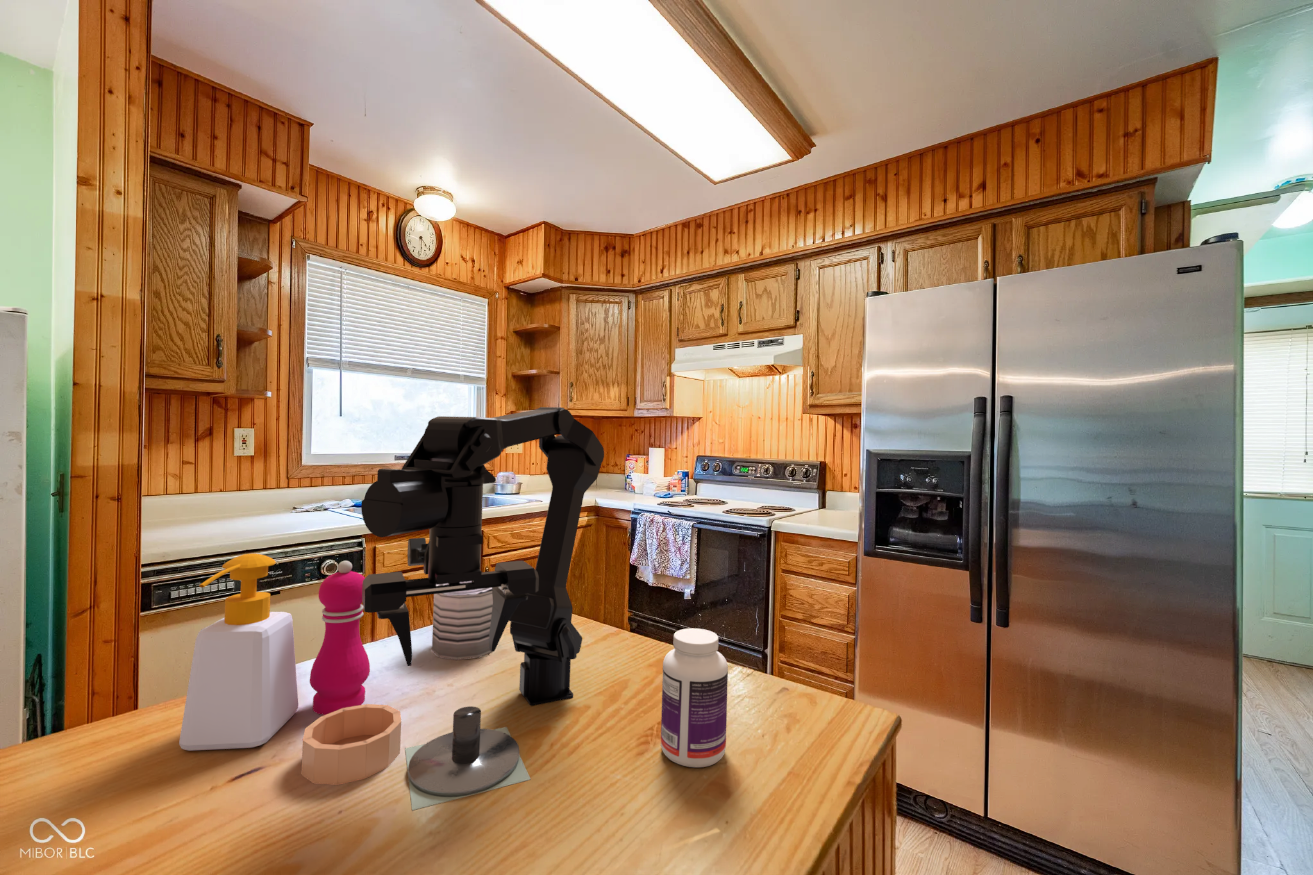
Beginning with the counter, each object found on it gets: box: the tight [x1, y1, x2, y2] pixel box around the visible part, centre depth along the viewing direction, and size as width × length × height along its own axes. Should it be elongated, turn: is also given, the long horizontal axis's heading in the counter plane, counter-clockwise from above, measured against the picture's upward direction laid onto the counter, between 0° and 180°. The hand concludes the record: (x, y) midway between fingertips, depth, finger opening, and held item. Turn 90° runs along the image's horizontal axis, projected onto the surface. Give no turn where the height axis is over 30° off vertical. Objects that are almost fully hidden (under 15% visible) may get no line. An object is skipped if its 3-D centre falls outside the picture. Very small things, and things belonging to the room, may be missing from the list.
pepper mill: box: [309, 560, 371, 716], centre depth 75 cm, size 7×7×20 cm
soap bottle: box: [178, 552, 299, 751], centre depth 66 cm, size 10×14×22 cm
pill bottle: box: [660, 627, 729, 768], centre depth 67 cm, size 8×8×14 cm
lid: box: [407, 705, 520, 797], centre depth 63 cm, size 12×12×6 cm
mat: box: [404, 726, 531, 812], centre depth 63 cm, size 12×12×1 cm
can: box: [431, 581, 493, 661], centre depth 97 cm, size 11×11×12 cm
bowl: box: [300, 703, 402, 786], centre depth 63 cm, size 10×10×4 cm
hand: (451, 657), depth 63 cm, fingers open, 9 cm apart
